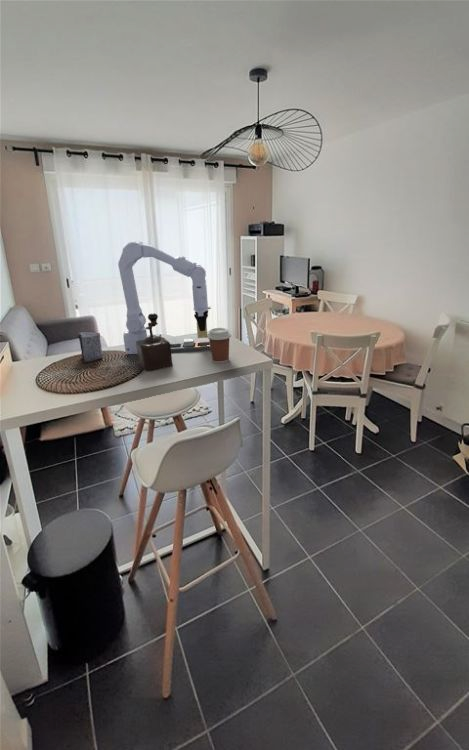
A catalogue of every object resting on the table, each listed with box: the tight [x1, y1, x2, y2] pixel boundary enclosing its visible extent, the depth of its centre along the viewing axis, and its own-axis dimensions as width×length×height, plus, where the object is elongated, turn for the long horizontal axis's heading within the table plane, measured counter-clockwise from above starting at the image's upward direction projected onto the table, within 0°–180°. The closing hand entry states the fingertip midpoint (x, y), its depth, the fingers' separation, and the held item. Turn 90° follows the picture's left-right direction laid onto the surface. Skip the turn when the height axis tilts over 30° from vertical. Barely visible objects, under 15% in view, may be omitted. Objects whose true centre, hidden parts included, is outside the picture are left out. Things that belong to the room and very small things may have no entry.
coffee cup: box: [206, 327, 232, 364], centre depth 136 cm, size 9×9×12 cm
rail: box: [170, 340, 211, 353], centre depth 153 cm, size 20×7×2 cm, turn 93°
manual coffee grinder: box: [136, 312, 174, 372], centre depth 136 cm, size 16×11×18 cm
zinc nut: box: [183, 338, 195, 347], centre depth 153 cm, size 4×4×4 cm
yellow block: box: [196, 320, 208, 339], centre depth 150 cm, size 4×4×7 cm
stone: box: [77, 331, 105, 363], centre depth 145 cm, size 12×10×10 cm
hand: (202, 329), depth 151 cm, fingers closed on yellow block, 4 cm apart
